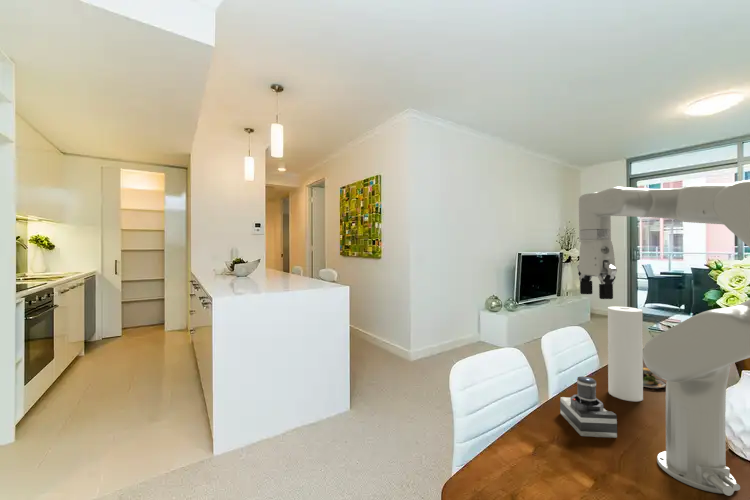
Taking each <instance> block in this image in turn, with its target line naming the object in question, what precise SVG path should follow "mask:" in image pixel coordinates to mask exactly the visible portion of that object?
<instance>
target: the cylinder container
mask: <svg viewBox="0 0 750 500" xmlns="http://www.w3.org/2000/svg"><path fill="white" fill-rule="evenodd" d="M643 326H644V324H643V309H641V308H636V307H631V306H618V305H617V306H608V307H607V373H608V374H607V378H608V380H607V381H608V382H607V384H608V385H607V386H608V388H607V389H608V394H609V395H611V396H612V397H614V398H617V399H619V400H623V401H628V402H641V401H644V386H643V368H644V360H643V349H644V347H643V346H644V345H643V343H644V341H643V339H644V337H643V335H644V334H643V331H644V330H643Z"/></svg>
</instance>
